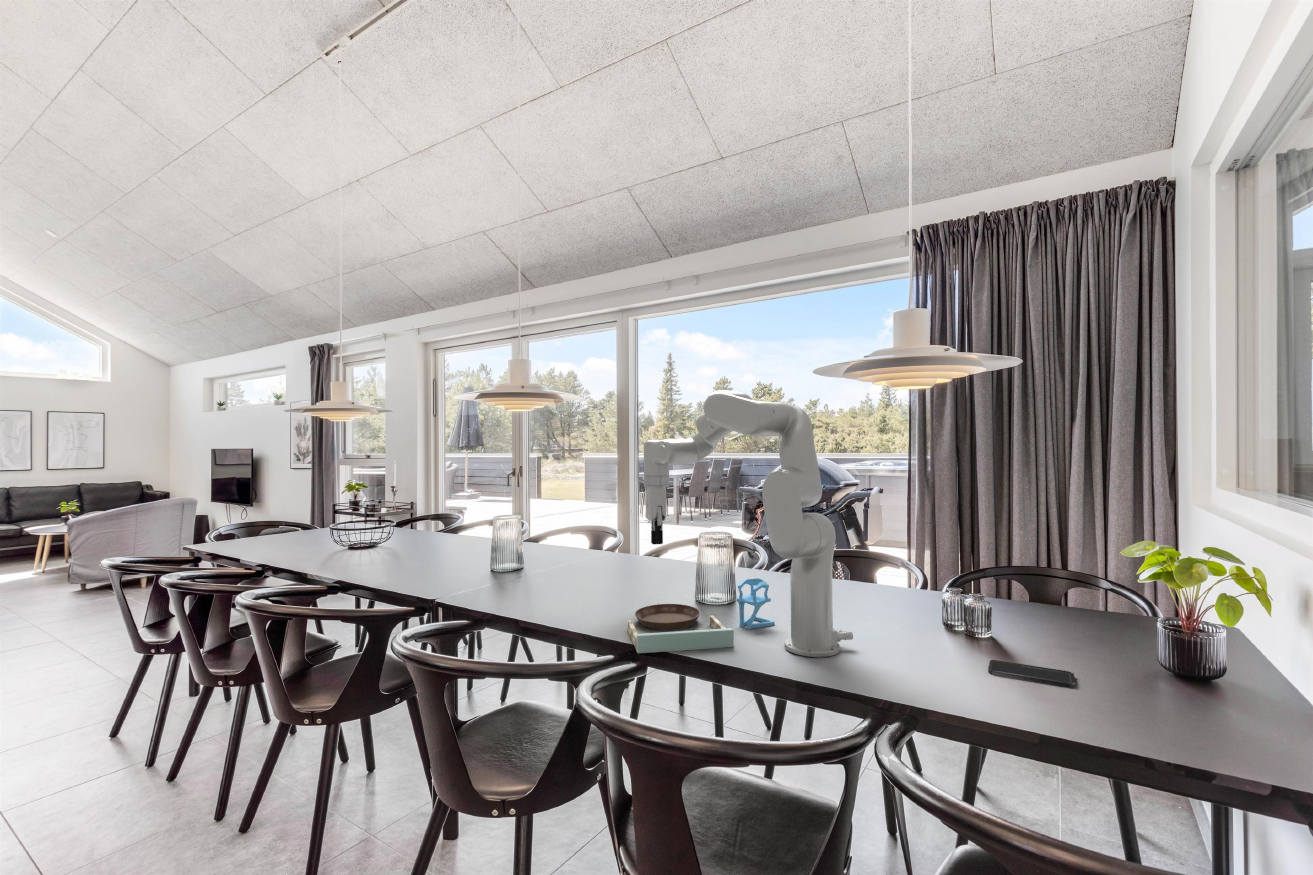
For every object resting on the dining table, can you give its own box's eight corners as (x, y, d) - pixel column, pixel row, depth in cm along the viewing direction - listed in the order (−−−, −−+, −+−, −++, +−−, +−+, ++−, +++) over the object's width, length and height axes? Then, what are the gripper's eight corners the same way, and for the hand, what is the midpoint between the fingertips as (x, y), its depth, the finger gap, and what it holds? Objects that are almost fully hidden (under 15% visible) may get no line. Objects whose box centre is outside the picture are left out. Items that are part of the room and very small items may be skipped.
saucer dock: (627, 630, 159) (627, 614, 159) (713, 624, 163) (713, 609, 163) (637, 653, 141) (637, 635, 141) (733, 646, 145) (733, 629, 145)
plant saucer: (664, 637, 153) (664, 625, 153) (621, 622, 167) (621, 611, 167) (713, 623, 165) (713, 612, 165) (670, 610, 178) (669, 600, 178)
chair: (732, 625, 163) (731, 579, 163) (752, 618, 168) (751, 575, 169) (755, 631, 157) (754, 584, 157) (775, 624, 163) (774, 579, 163)
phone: (1075, 684, 119) (987, 670, 127) (1075, 690, 119) (987, 675, 127) (1073, 671, 125) (990, 658, 133) (1073, 677, 125) (990, 663, 133)
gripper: (640, 480, 188) (640, 540, 188) (648, 483, 173) (648, 548, 173) (664, 480, 189) (664, 539, 189) (674, 483, 174) (674, 547, 174)
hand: (657, 543), depth 181 cm, fingers closed
